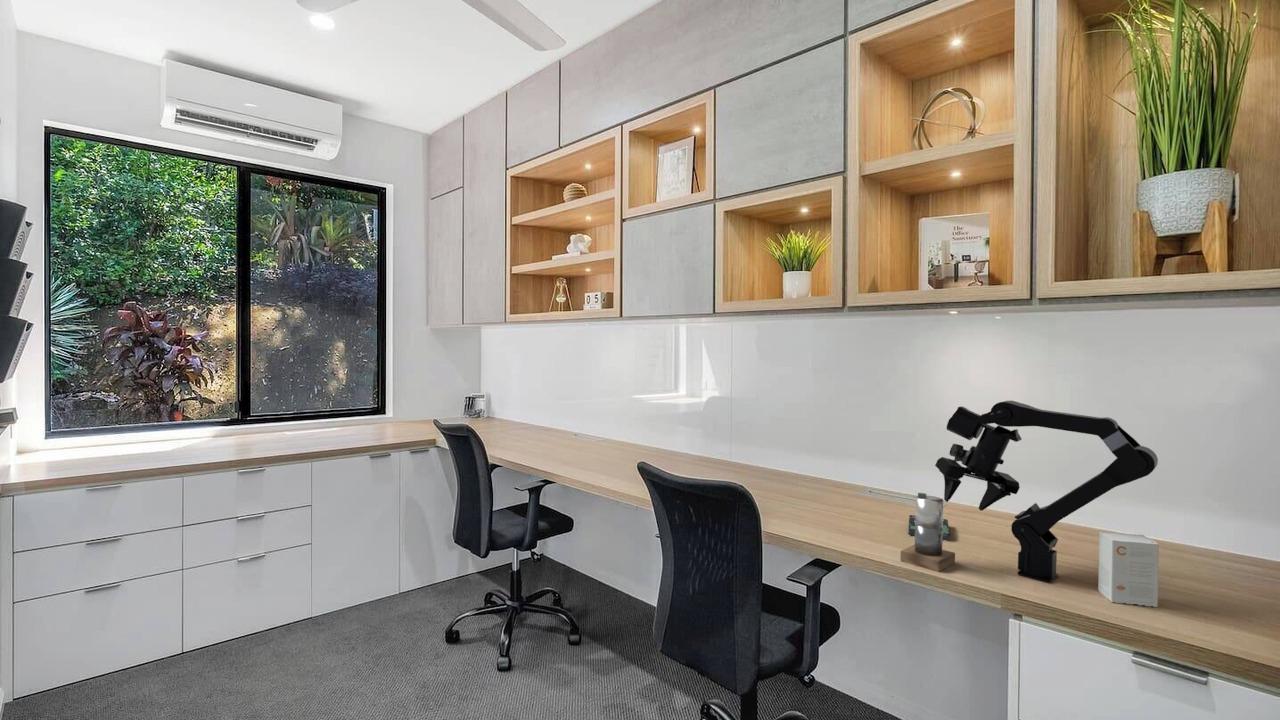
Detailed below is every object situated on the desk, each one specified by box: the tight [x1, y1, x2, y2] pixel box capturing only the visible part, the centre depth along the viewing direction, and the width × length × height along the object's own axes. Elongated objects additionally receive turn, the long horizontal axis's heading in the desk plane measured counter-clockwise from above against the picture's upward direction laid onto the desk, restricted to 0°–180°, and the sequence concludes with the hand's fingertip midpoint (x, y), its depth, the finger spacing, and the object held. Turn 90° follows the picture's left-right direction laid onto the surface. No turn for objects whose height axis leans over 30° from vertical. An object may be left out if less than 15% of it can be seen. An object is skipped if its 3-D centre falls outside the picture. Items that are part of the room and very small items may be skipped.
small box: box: [1097, 531, 1160, 608], centre depth 124 cm, size 8×6×13 cm
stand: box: [900, 544, 956, 573], centre depth 144 cm, size 9×9×2 cm
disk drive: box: [907, 514, 950, 542], centre depth 169 cm, size 10×3×15 cm
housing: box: [914, 492, 944, 556], centre depth 144 cm, size 6×6×14 cm
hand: (962, 505), depth 147 cm, fingers open, 9 cm apart
